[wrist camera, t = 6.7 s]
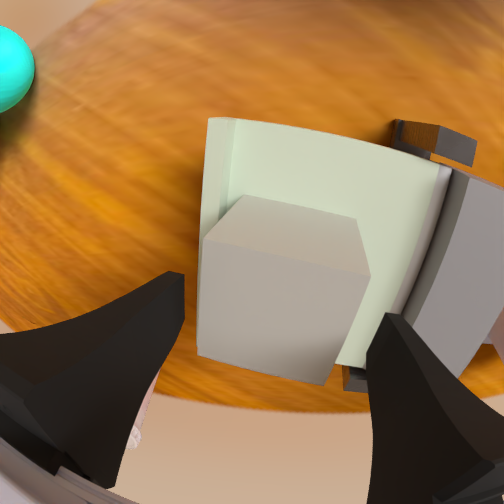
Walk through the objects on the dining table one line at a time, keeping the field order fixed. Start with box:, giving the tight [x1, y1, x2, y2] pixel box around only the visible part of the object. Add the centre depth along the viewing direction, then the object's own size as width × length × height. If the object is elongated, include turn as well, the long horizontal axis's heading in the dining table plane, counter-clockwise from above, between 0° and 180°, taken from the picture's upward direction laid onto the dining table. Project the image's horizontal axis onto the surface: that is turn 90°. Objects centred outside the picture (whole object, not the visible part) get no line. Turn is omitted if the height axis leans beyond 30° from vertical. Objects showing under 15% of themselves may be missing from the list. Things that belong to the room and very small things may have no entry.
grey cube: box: [198, 194, 371, 386], centre depth 12 cm, size 5×5×5 cm
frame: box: [342, 119, 477, 393], centre depth 15 cm, size 2×15×6 cm, turn 173°
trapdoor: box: [196, 117, 504, 379], centre depth 14 cm, size 16×12×4 cm
